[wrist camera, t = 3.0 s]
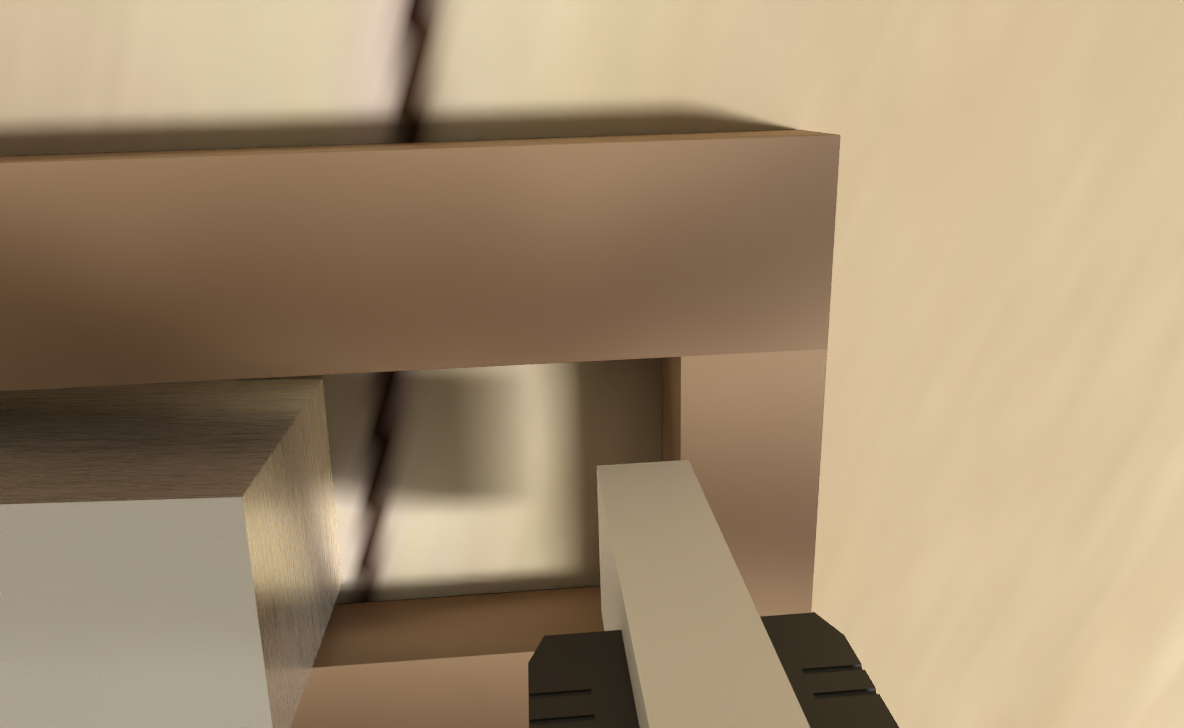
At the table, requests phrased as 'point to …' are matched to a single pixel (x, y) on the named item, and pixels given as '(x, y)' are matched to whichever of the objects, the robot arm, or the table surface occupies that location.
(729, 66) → the table surface
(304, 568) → the aluminium block
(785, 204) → the slot board
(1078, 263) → the table surface
